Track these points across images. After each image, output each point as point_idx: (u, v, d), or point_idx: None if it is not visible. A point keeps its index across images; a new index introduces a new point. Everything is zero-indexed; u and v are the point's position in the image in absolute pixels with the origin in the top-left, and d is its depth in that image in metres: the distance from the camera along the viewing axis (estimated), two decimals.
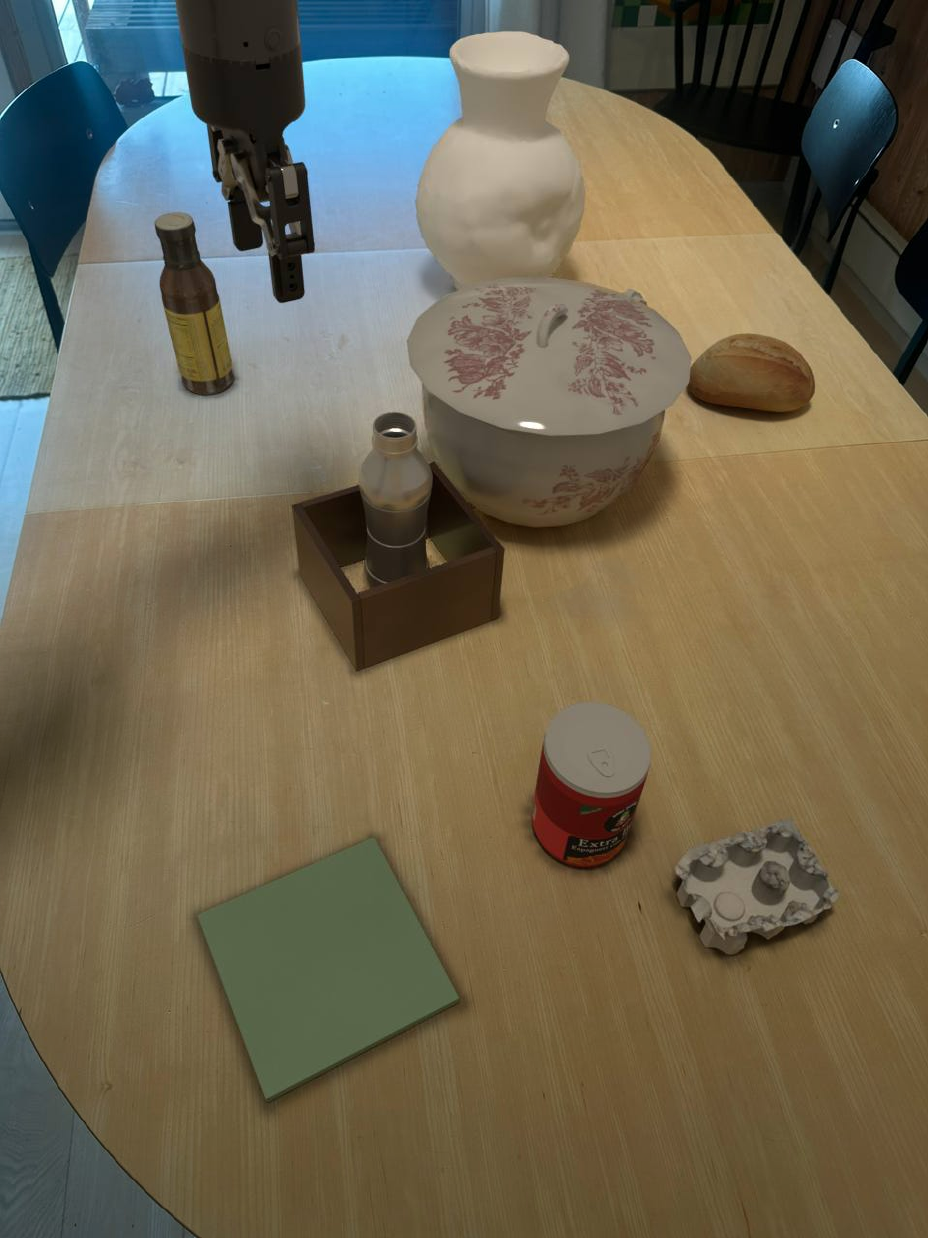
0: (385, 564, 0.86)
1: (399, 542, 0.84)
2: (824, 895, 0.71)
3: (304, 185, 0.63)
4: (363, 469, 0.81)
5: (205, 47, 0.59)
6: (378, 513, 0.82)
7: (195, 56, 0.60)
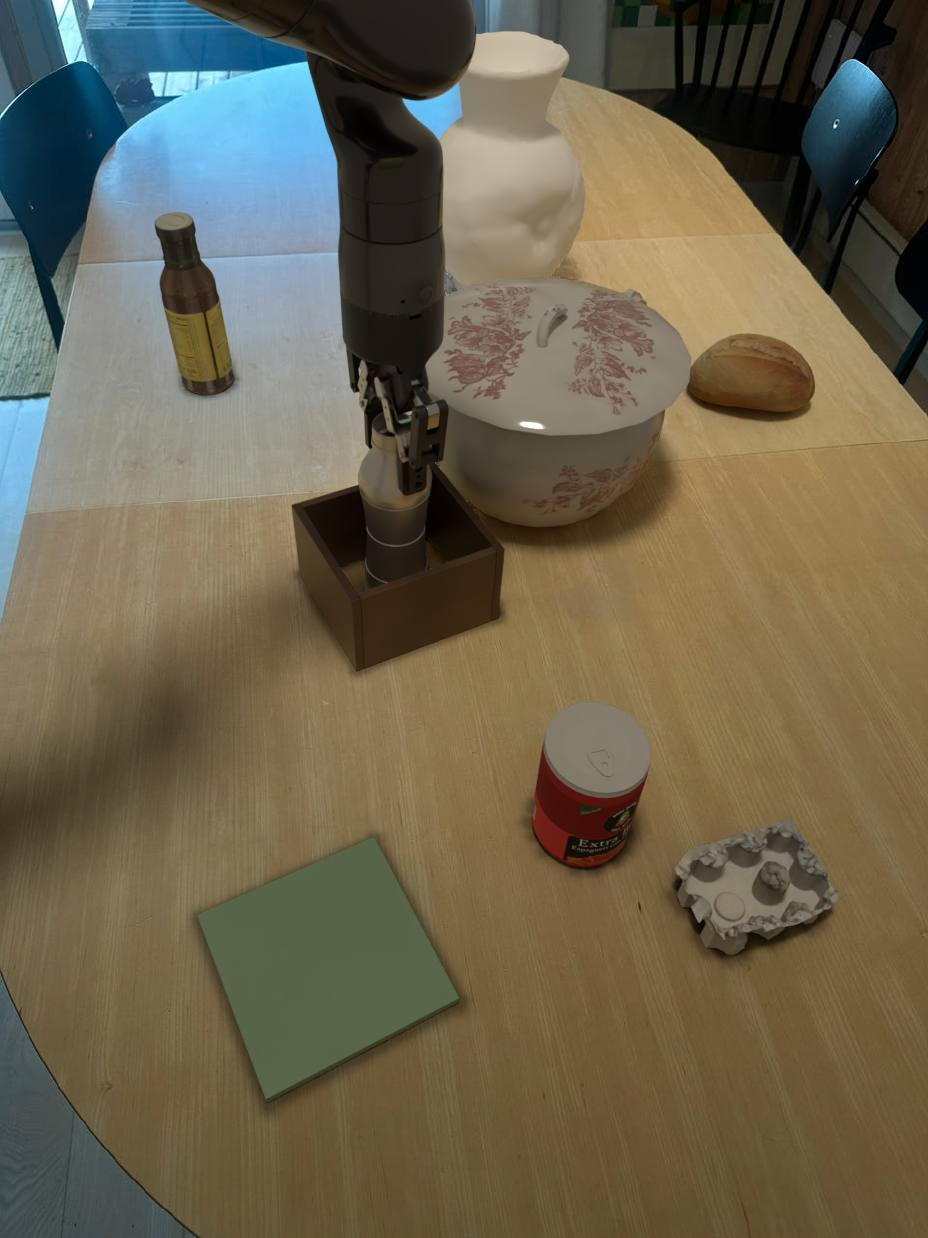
0: (385, 563, 0.86)
1: (399, 541, 0.84)
2: (824, 895, 0.71)
3: (444, 419, 0.71)
4: (362, 468, 0.81)
5: (366, 303, 0.67)
6: (378, 512, 0.82)
7: (355, 308, 0.68)
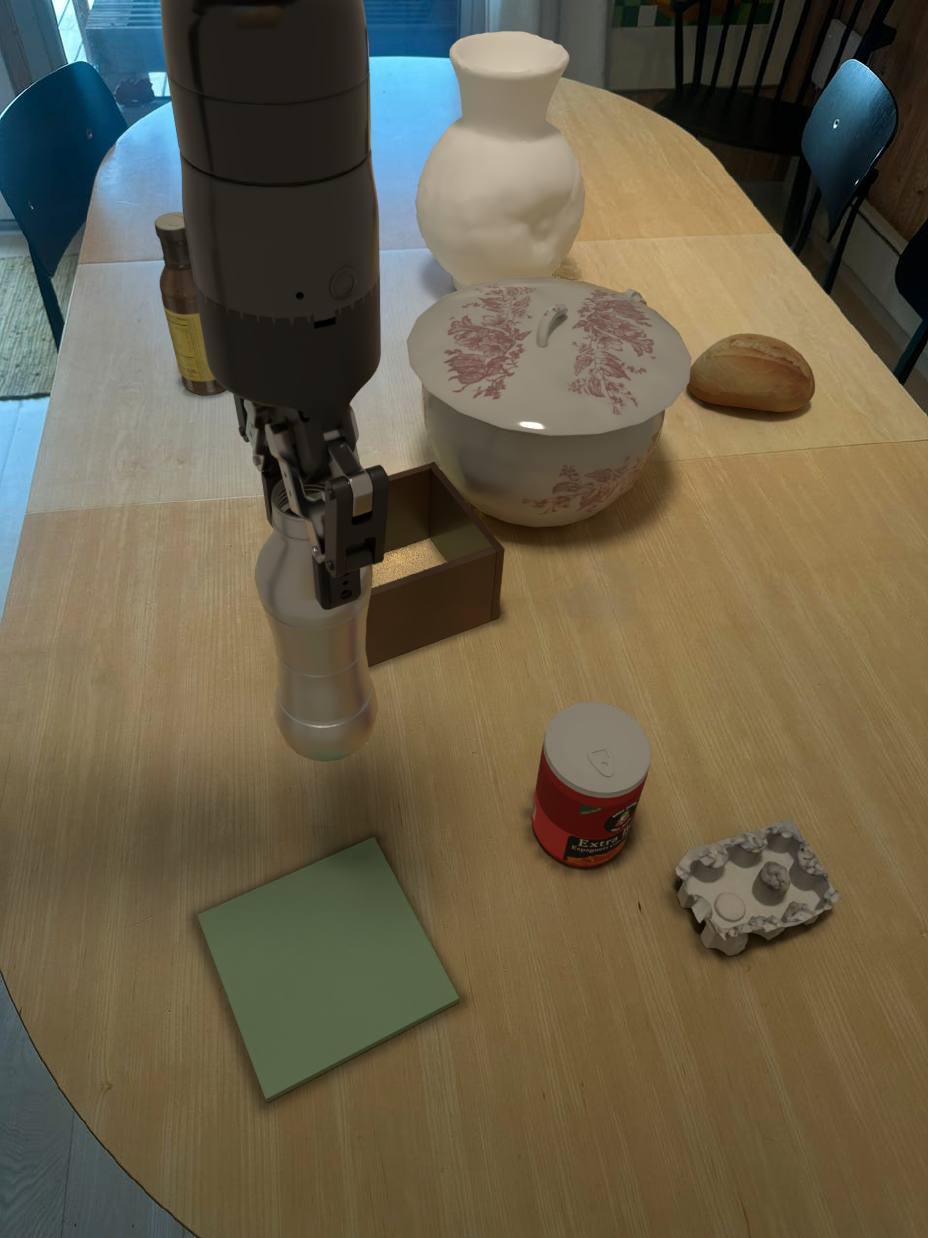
0: (304, 699, 0.56)
1: (323, 670, 0.54)
2: (825, 896, 0.71)
3: (382, 500, 0.41)
4: (261, 562, 0.51)
5: (233, 298, 0.37)
6: (287, 630, 0.52)
7: (215, 307, 0.38)
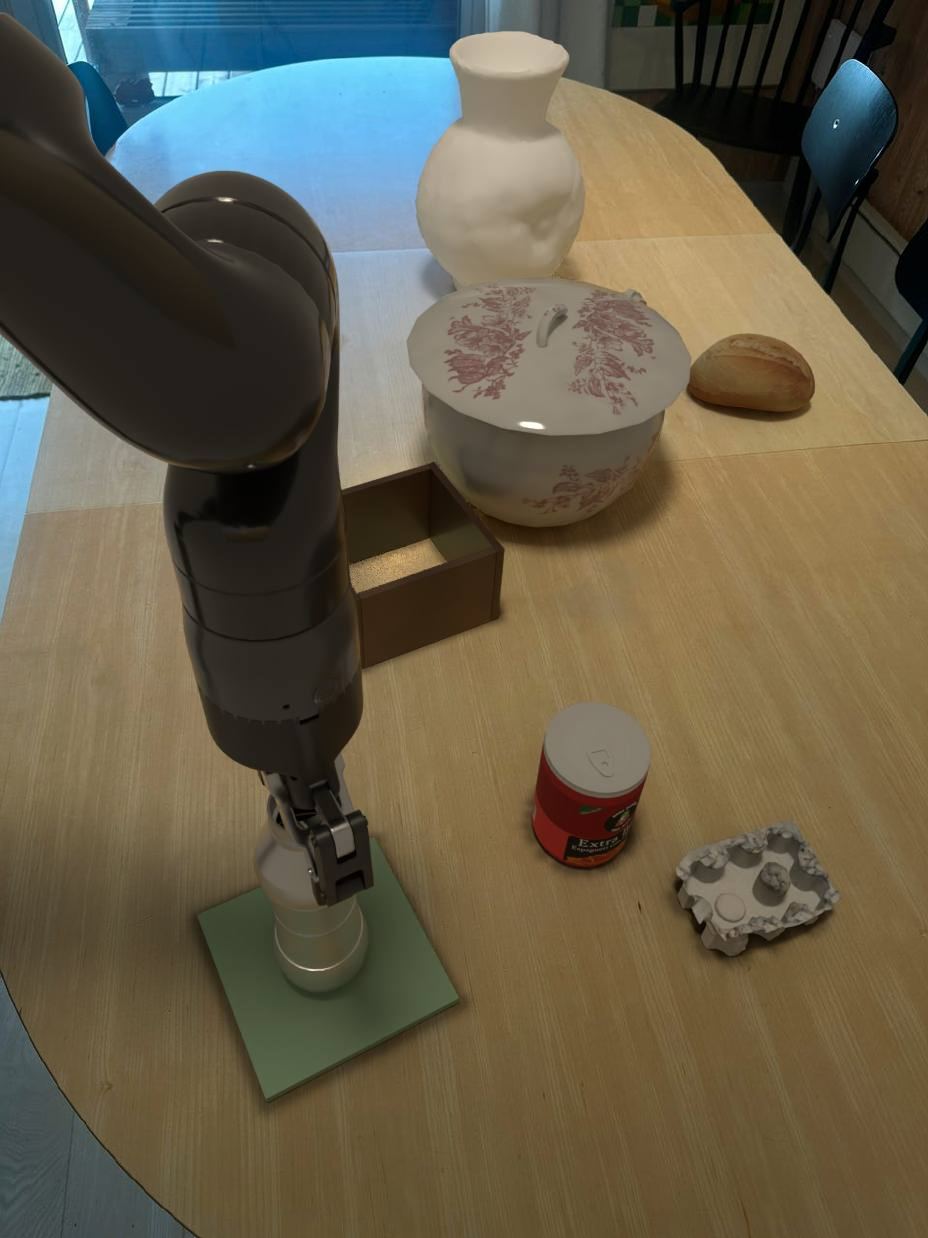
0: (298, 950, 0.61)
1: (315, 933, 0.59)
2: (825, 896, 0.71)
3: (363, 841, 0.45)
4: (258, 851, 0.56)
5: (227, 705, 0.41)
6: (281, 909, 0.57)
7: (212, 705, 0.42)
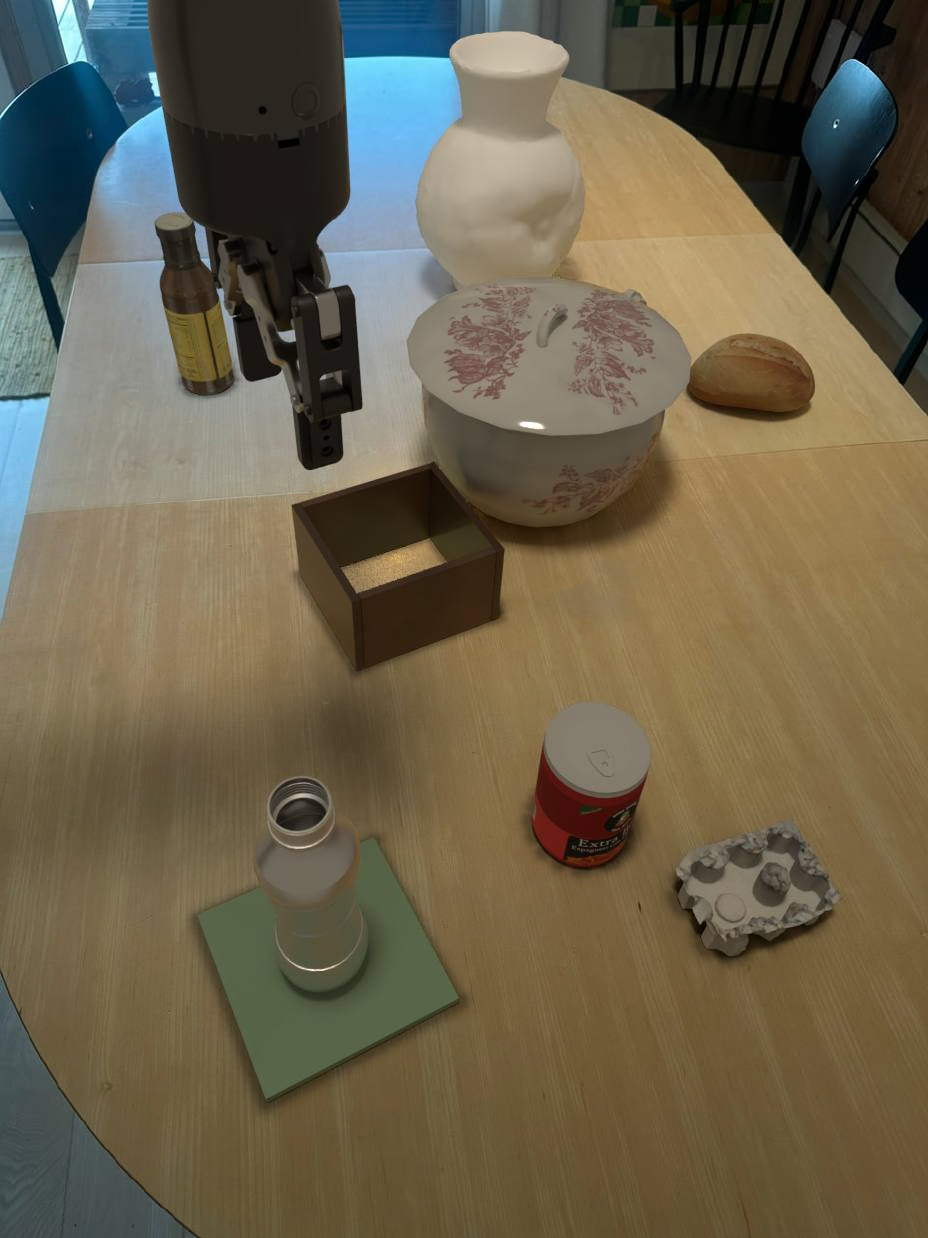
0: (298, 950, 0.61)
1: (315, 933, 0.59)
2: (825, 896, 0.71)
3: (350, 320, 0.41)
4: (258, 851, 0.56)
5: (198, 114, 0.37)
6: (281, 909, 0.57)
7: (182, 127, 0.38)
